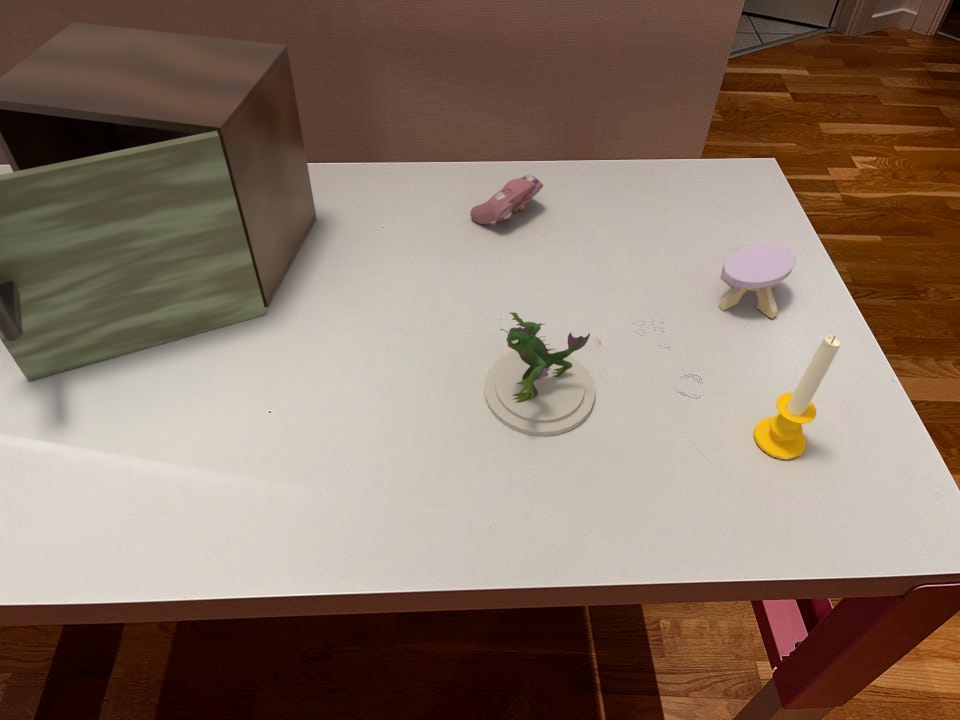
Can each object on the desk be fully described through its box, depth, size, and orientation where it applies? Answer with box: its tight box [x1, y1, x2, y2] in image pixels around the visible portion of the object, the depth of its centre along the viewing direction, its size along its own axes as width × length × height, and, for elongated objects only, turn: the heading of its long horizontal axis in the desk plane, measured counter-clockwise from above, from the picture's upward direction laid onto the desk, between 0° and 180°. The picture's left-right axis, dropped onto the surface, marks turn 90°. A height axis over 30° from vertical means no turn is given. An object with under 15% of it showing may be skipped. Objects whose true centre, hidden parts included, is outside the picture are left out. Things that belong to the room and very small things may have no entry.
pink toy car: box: [469, 173, 544, 225], centre depth 100 cm, size 10×5×7 cm, turn 138°
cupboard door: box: [0, 131, 267, 382], centre depth 74 cm, size 8×26×24 cm, turn 115°
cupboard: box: [0, 22, 318, 309], centre depth 87 cm, size 18×26×24 cm
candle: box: [753, 334, 841, 459], centre depth 72 cm, size 5×5×16 cm
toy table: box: [718, 243, 796, 319], centre depth 90 cm, size 10×9×6 cm
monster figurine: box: [483, 311, 596, 437], centre depth 77 cm, size 12×12×10 cm
